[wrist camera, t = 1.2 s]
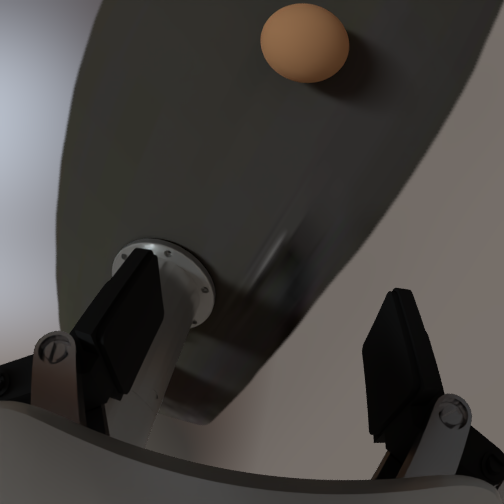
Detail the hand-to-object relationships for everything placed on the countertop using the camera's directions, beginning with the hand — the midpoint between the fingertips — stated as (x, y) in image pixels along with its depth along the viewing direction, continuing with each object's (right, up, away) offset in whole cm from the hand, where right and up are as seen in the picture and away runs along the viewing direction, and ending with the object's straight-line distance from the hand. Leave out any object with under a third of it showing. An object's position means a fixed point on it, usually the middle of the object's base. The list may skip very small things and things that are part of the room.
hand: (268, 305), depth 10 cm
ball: (+3, +16, +7) cm, 18 cm away
